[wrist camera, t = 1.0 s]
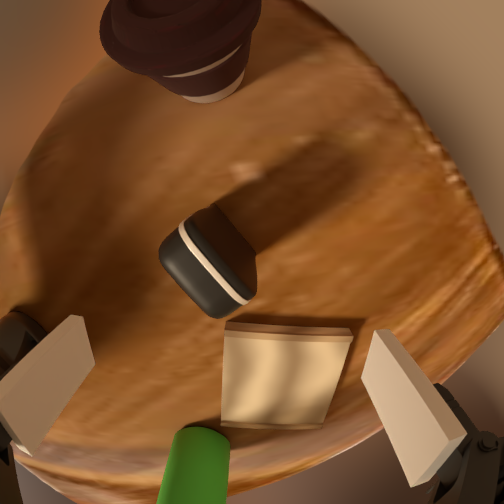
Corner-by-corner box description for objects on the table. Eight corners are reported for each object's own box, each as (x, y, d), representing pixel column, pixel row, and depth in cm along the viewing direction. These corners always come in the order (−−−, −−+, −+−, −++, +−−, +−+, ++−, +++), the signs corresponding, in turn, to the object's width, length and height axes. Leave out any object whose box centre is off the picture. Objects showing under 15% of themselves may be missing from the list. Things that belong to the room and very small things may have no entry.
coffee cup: (199, 137, 25) (139, 95, 11) (143, 74, 23) (65, 12, 9) (279, 77, 23) (302, -11, 9) (217, 19, 22) (193, -74, 7)
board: (221, 416, 34) (220, 426, 32) (226, 321, 30) (224, 330, 28) (319, 419, 34) (321, 428, 33) (348, 327, 30) (353, 336, 28)
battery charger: (184, 224, 27) (140, 256, 16) (213, 200, 27) (184, 215, 16) (229, 277, 29) (214, 336, 18) (258, 254, 28) (261, 304, 17)
